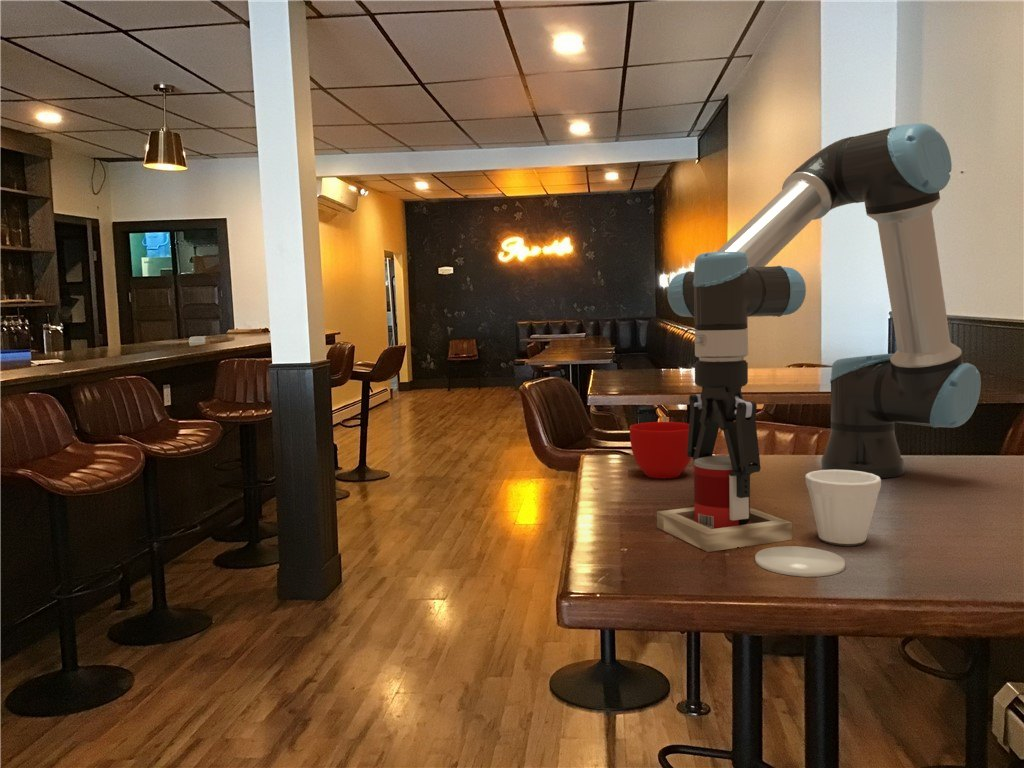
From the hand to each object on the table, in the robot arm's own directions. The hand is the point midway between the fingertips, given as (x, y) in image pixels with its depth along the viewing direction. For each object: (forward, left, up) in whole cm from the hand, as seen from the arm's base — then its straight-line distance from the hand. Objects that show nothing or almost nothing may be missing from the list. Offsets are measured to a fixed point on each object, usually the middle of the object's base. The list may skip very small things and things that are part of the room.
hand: (722, 512), depth 120 cm
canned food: (0, 0, -3) cm, 3 cm away
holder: (0, 0, -3) cm, 3 cm away
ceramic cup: (-15, -42, -4) cm, 45 cm away
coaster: (-1, +16, -3) cm, 16 cm away
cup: (-13, +10, -4) cm, 17 cm away
